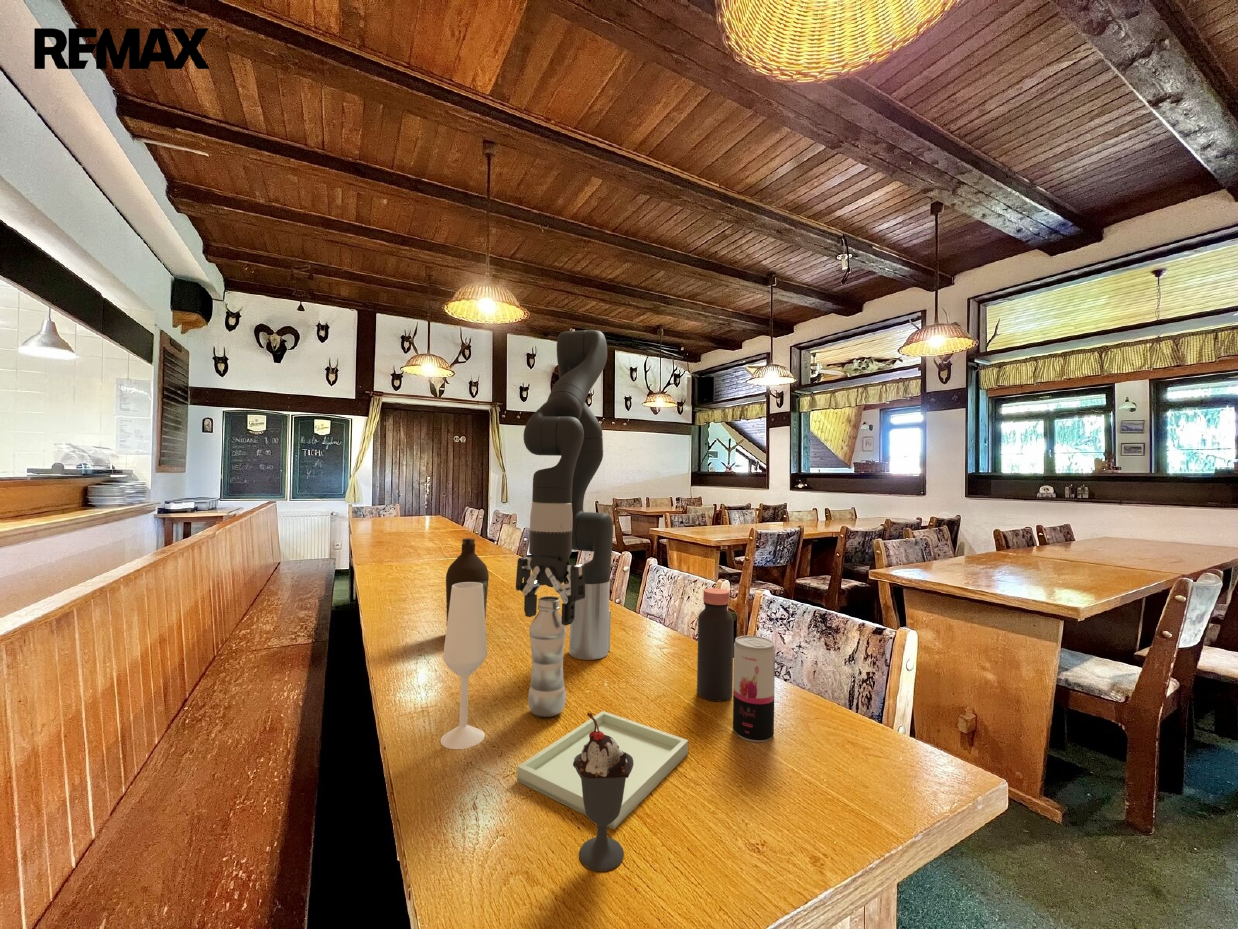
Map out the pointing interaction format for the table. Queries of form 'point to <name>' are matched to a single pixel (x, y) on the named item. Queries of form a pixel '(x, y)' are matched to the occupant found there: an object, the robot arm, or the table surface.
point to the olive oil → (467, 571)
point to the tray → (642, 743)
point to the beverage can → (754, 688)
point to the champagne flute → (465, 654)
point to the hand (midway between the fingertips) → (548, 620)
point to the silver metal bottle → (547, 659)
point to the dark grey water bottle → (715, 647)
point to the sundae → (602, 796)
